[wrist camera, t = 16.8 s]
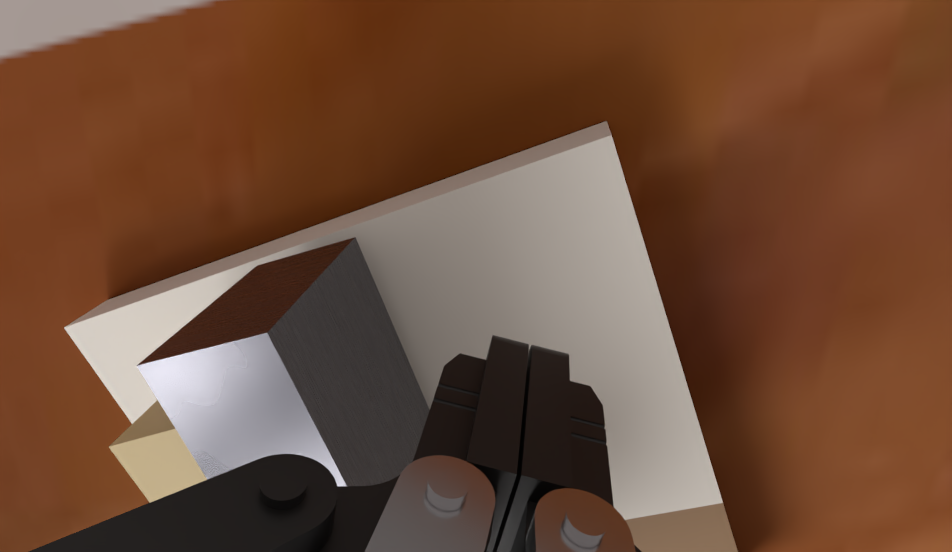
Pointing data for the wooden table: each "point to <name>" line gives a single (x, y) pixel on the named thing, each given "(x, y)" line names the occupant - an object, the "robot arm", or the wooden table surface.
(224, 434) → the block
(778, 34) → the wooden table surface
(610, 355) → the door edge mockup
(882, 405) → the wooden table surface
